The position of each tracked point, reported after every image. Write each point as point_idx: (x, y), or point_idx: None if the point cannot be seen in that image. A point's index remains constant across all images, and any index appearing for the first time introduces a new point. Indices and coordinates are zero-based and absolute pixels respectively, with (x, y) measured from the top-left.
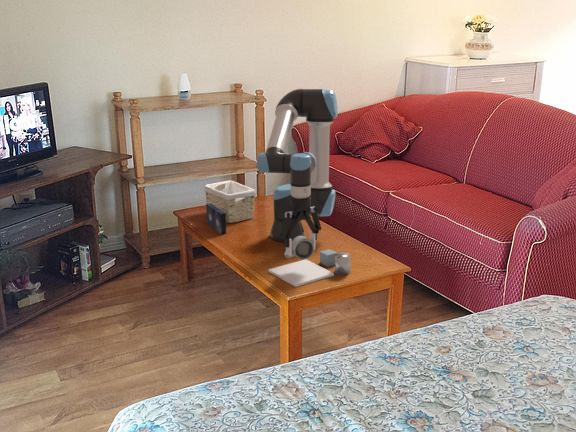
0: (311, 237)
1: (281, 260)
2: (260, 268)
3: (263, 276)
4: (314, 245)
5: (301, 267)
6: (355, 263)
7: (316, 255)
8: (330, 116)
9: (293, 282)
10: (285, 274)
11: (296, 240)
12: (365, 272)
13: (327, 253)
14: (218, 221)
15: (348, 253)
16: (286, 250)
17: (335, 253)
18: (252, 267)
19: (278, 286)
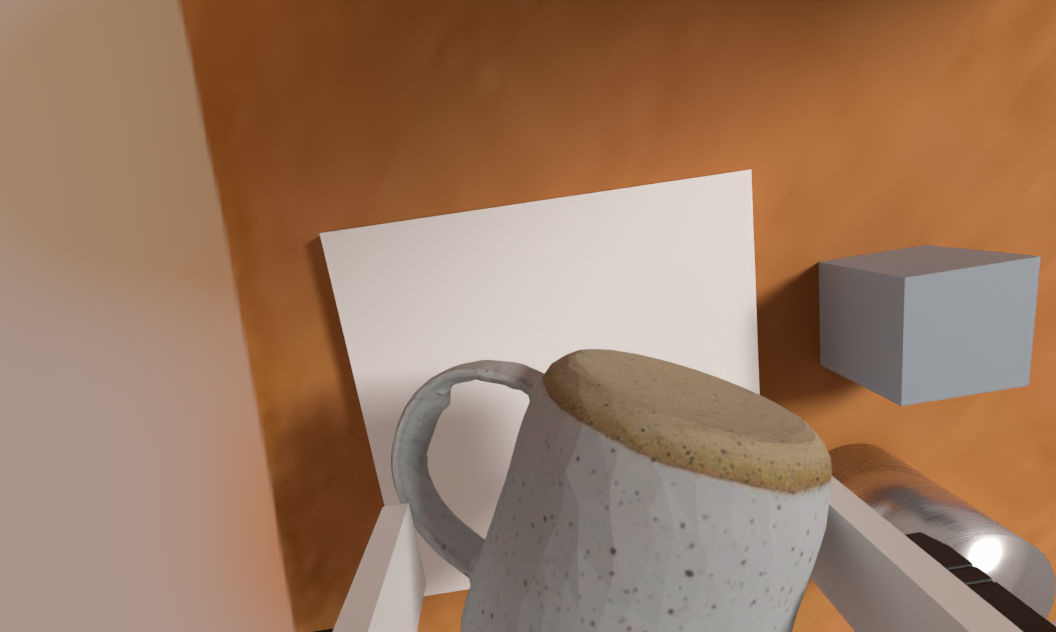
0: (888, 604)
1: (553, 20)
2: (283, 117)
3: (250, 305)
4: (813, 569)
5: (609, 330)
6: (1040, 400)
7: (910, 73)
8: None
9: None
10: None
11: (562, 627)
12: None
13: (932, 362)
14: None
15: (1052, 591)
16: (371, 553)
17: (997, 389)
18: (215, 51)
19: (299, 526)
